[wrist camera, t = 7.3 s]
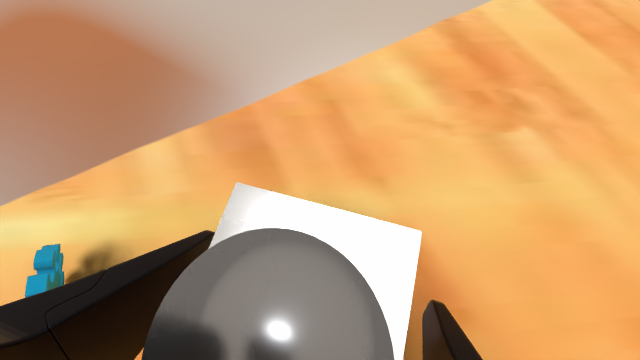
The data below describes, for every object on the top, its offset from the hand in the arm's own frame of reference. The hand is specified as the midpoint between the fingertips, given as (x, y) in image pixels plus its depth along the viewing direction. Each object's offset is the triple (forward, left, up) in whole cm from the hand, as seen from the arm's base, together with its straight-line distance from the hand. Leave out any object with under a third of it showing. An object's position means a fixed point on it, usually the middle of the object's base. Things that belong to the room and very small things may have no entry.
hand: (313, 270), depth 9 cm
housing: (-1, 0, -8) cm, 8 cm away
